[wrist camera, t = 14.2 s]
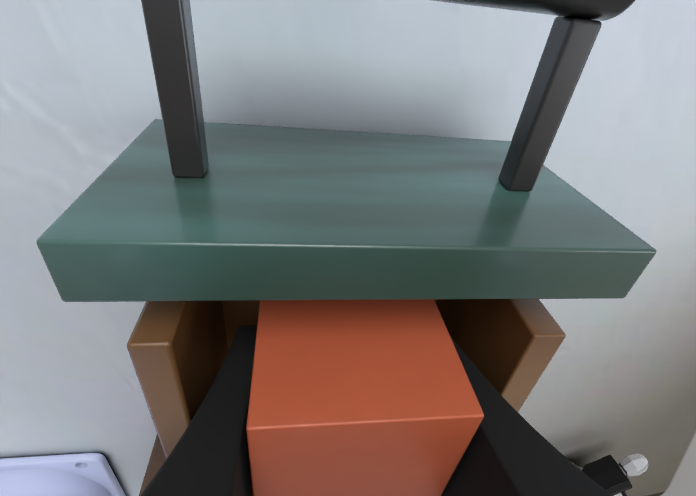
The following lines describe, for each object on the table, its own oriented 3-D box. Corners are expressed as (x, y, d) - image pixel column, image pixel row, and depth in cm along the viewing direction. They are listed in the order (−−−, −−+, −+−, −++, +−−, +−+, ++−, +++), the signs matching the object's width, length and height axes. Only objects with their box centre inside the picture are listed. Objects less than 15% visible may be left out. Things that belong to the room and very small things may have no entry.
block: (267, 358, 13) (255, 529, 9) (264, 255, 10) (246, 429, 6) (391, 354, 14) (432, 512, 10) (416, 257, 11) (485, 415, 7)
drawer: (106, -131, 7) (-223, -321, 3) (583, -57, 9) (902, -94, 4) (207, 397, 17) (175, 552, 12) (424, 387, 19) (467, 523, 14)
